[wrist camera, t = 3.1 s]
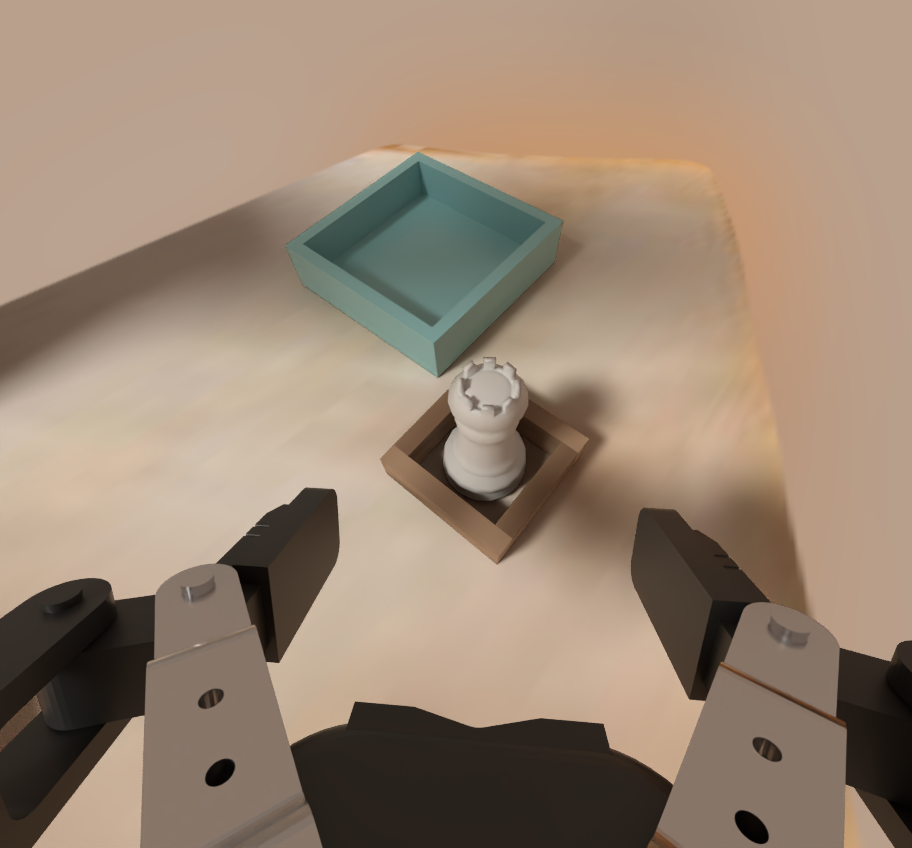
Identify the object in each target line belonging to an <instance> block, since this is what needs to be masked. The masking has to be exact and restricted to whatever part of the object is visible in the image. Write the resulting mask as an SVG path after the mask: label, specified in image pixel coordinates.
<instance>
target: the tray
mask: <svg viewBox="0 0 912 848" xmlns="http://www.w3.org/2000/svg"><path fill="white" fill-rule="evenodd" d="M562 224H563V220H560V219H558V218H556V217H554V216H552V215H550V214H548V213H546V212H544V211H542V210H539V209H537V208H535V207H533V206H531V205H529V204H527V203H525V202H523V201H521V200H518V199H516V198H514V197H512V196H510V195H508V194H506V193H504V192H502V191H499V190H497V189H495V188H493V187H491V186H489V185H487V184H485V183H483V182H481V181H478V180H476V179H474V178H472V177H470V176H468V175H466V174H464V173H462V172H460V171H457V170H455V169H453V168H451V167H449V166H447V165H445V164H443V163H441V162H438V161H436V160H434V159H432V158H430V157H428V156H426V155H424V154H422V153H420V152H417V153H416V154H414V155H413V156H411V157H410V158H408V159H407V160H406V161H404V162H403V163H401V164H400V165H398V166H397V167H396V168H394V169H393V170H391V171H390V172H389V173H387V174H386V175H384V176H383V177H381V178H380V179H379V180H377V181H376V182H374V183H373V184H372V185H370V186H369V187H367V188H366V189H364V190H363V191H362V192H360V193H359V194H357V195H356V196H354V197H353V198H352V199H350V200H349V201H347V202H346V203H345V204H343V205H342V206H340V207H339V208H337V209H336V210H335V211H333V212H332V213H330V214H329V215H328V216H326V217H325V218H323V219H322V220H320V221H319V222H318V223H316V224H315V225H313V226H312V227H310V228H309V229H308V230H306V231H305V232H303V233H302V234H301V235H299V236H298V237H296V238H295V239H293V240H292V241H291V242H289V243H288V244H286V245H285V247H286V249H287V251H288V253H289V256H290V258H291V260H292V262H293V264H294V267H295V269H296V271H297V273H298V275H299V277H300V280H301V282H302V284H303V285H304V286H306V287H307V288H308V289H310V290H311V291H313V292H314V293H316V294H317V295H319V296H320V297H321V298H323V299H324V300H326V301H327V302H329V303H330V304H332V305H333V306H335V307H336V308H337V309H339V310H340V311H342V312H343V313H345V314H346V315H348V316H349V317H350V318H352V319H353V320H355V321H356V322H358V323H359V324H361V325H362V326H364V327H365V328H366V329H368V330H369V331H371V332H372V333H374V334H375V335H377V336H378V337H379V338H381V339H382V340H384V341H385V342H387V343H388V344H390V345H391V346H393V347H394V348H395V349H397V350H398V351H400V352H401V353H403V354H404V355H406V356H407V357H408V358H410V359H411V360H413V361H414V362H416V363H417V364H419V365H420V366H422V367H423V368H424V369H426V370H427V371H429V372H430V373H432V374H433V375H435V376H436V377H437V378H438V377H439V376H440V375H441V374H442V373H443V372H444V371H445V370H446V369H447V368H448V367H449V366H450V365H451V364H452V363H453V362H454V361H455V360H456V359H457V358H458V357H459V356H460V355H461V354H462V353H463V352H464V351H465V350H466V349H467V348H468V347H469V346H470V345H471V344H472V343H473V342H474V341H475V340H476V339H477V338H478V337H479V336H480V335H481V334H482V333H483V332H484V331H485V330H486V329H487V328H488V327H489V326H490V325H491V324H492V323H494V322H495V321H496V320H497V319H498V318H499V317H500V316H501V315H502V314H503V313H504V312H505V311H506V310H507V309H508V308H509V307H510V306H511V305H512V304H513V303H514V302H515V301H516V300H517V299H518V298H519V297H520V296H521V295H522V294H523V293H524V292H525V291H526V290H527V289H528V288H529V287H530V286H531V285H532V284H533V283H534V282H535V281H536V280H537V279H538V278H539V277H540V276H541V275H542V274H543V273H544V272H545V271H546V270H547V269H548V268H549V267H550V266H551V265H552V264H553V263H554V262H555V258H556V253H557V248H558V243H559V238H560V234H561V229H562Z"/></svg>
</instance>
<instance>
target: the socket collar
mask: <svg viewBox="0 0 912 848" xmlns="http://www.w3.org/2000/svg"><path fill="white" fill-rule="evenodd" d="M448 393H449V389H448V390H447V391H446V392H445V393H444V394H443V395H442V396H441V397H440V398H439V399H438V400H437V401H436V402H435V403H434V404H433V405H432V406H431V407H430V408H429V409H428V410H427V412H426V413H425V414H424V415H423V416H422V417H421V418H420V419H419V420H418V421H417V422H416V423H415V424H414V425H413V426H412V427H411V428H410V429H409V430H408V431H407V432H406V433H405V434H404V435H403V436H402V437H401V438H400V439H399V440H398V441H397V442H396V443H395V444H394V445H393V446H392V447H391V448H390V449H389V450H388V451H387V452H386V453H385V454H384V455H383V456H382V457H381V458H380V460H381V462H382V464H383V466H384V468H385V470H386V473H387V474H388V475H389V476H390V477H392V478H393V479H394V480H395V481H397V482H398V483H399V484H400V485H401V486H403V487H404V488H405V489H406V490H407V491H409V492H410V493H411V494H412V495H413V496H415V497H416V498H417V499H418V500H420V501H421V502H422V503H423V504H424V505H426V506H427V507H428V508H429V509H430V510H432V511H433V512H434V513H435V514H436V515H438V516H439V517H440V518H441V519H443V520H444V521H445V522H446V523H447V524H449V525H450V526H451V527H452V528H453V529H455V530H456V531H457V532H458V533H459V534H461V535H462V536H463V537H464V538H466V539H467V540H468V541H469V542H470V543H472V544H473V545H474V546H475V547H476V548H478V549H479V550H480V551H481V552H482V553H484V554H485V555H486V556H487V557H489V558H490V559H491V560H492V561H493V562H495V563H496V564H498V562H499V561H500V560H501V559H502V557H503V556H504V555H505V553H506V552H507V551H508V549H509V548H510V547H511V545H512V544H513V543H514V542H515V540H516V539H517V538H518V536H519V535H520V534H521V532H522V531H523V530H524V528H525V527H526V526H527V525H528V523H529V522H530V521H531V519H532V518H533V517H534V515H535V514H536V513H537V511H538V510H539V509H540V508H541V506H542V505H543V504H544V502H545V501H546V500H547V498H548V497H549V496H550V495H551V493H552V492H553V491H554V489H555V488H556V487H557V485H558V484H559V483H560V481H561V480H562V479H563V478H564V476H565V475H566V474H567V472H568V471H569V470H570V468H571V467H572V466H573V464H574V463H575V462H576V461H577V459H578V458H579V457H580V455H581V453H582V452H583V450H584V448H585V446H586V444H587V442H588V440H589V438H587V437H586V436H584V435H582V434H581V433H579V432H578V431H576V430H575V429H573V428H572V427H570V426H569V425H567V424H566V423H564V422H563V421H561V420H559V419H558V418H556V417H555V416H553V415H552V414H550V413H549V412H547V411H546V410H544V409H543V408H541V407H540V406H538V405H536V404H535V403H533V402H532V401H530V400H529V399H528V407H527V409H526V411H525V413H524V415H523V417H522V418H521V419H520V420H519V423H518V425H517V427H516V431H517V432H519V433H520V434H521V435H523V436H524V437H526V438H527V439H529V440H530V441H532V442H533V443H535V444H536V445H537V446H539V447H540V448H542V449H543V450H545V451H546V452H548V453H549V454H551V455H550V457H549V458H548V459H547V460H546V462H545V463H544V464H543V465H542V467H541V468H540V469H539V470H538V472H537V473H536V474H535V475H534V477H533V478H532V479H531V480H530V482H529V483H528V484H527V485H526V487H525V488H524V489H523V490H522V492H521V493H520V494H519V495H518V497H517V498H516V499H515V500H514V502H513V503H512V504H511V505H510V507H509V508H508V509H507V510H506V512H505V513H504V514H503V516H502V517H501V518H500V519H499V521H498V522H497V523H496V524H493V523H492V522H491V521H489V520H488V519H487V518H486V517H484V516H483V515H482V514H481V513H479V512H478V511H477V510H476V509H474V508H473V507H472V506H471V505H469V504H468V503H467V502H465V501H464V500H463V499H462V498H460V497H459V496H458V495H457V494H455V493H454V492H453V491H452V490H450V489H449V488H448V487H446V486H445V485H444V484H443V483H441V482H440V481H439V480H438V479H436V478H435V477H434V476H433V475H431V474H430V473H429V472H428V471H426V470H425V469H424V468H422V467H421V466H420V465H419V464H420V463H421V462H422V461H423V460H424V459H425V458H426V457H427V455H428V454H429V453H430V452H431V451H432V450H433V449H434V448H435V447H436V446H437V445H438V444H439V443H440V442H441V440H442V439H443V438H444V437H445V436H446V435H447V434H448V433H449V432H450V431H451V430H452V429H453V428H454V427H455V425H456V421H455V417H454V416H453V414H452V412H451V409H450V406H449V404H448Z"/></svg>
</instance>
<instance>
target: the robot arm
mask: <svg viewBox="0 0 912 848" xmlns="http://www.w3.org/2000/svg"><path fill="white" fill-rule="evenodd" d="M339 545H340V539H339V522H338V505H337V495H336V492H335V490H334V489H322V488H304V489H303V490H302V491H301V492H300V494H299V495H298V496H297V497H296V498H295V499H294V500H293V501H292V502H291V503H290V504H289V505H286V504H284V505H282V506H280V507H278V508H276V509H274V510H272V511H270V512H268V513H267V514H266V515H264V516H263V517H262V518H261V519H260V520H259V521H258V522H257V523H256V524H255V527H252V528H251V529H250V530H249V531H248V532H247V533H246V536H243V537H242V538H241V539H240V540H239V541H238V542H237V543H236V544H235V545H234V546H233V547H232V548H231V549H230V550H229V551H228V552H227V553H226V554H225V555H224V556H223V557H222V558H221V559H220V560H219V561H218V562H217V563H216V564H206V565H200V566H196V567H193V568H189V569H187V570H184V571H182V572H180V573H178V574H176V575H174V576H172V577H171V578H169V579H168V580H167V581H165V582H164V583H163V584H162V585H161V586H160V587H159V589H158V590H157V592H156V595H151V596H144V597H137V598H129V599H122V600H114V596H113V592H112V588H111V585H110V583H109V582H107V581H105V580H103V579H97V578H87V579H79V580H74V581H69V582H66V583H62V584H59V585H56V586H54V587H51V588H48V589H46V590H44V591H42V592H40V593H38V594H36V595H34V596H32V597H31V598H29V599H28V600H26V601H25V602H23V603H22V604H20V605H19V606H18V607H16V608H15V609H13V610H12V611H11V612H9V613H8V614H6V615H5V616H4V617H2V618H1V619H0V730H1V728H2V727H3V726H4V725H5V724H6V723H7V722H8V721H9V720H10V719H11V718H12V717H13V716H14V715H15V714H16V713H17V712H18V711H19V710H20V709H21V708H22V707H23V706H25V705H26V704H27V703H28V702H29V701H30V700H31V699H32V698H33V697H34V696H35V695H36V694H37V697H38V700H39V703H40V706H41V709H42V711H41V712H40V713H39V714H38V715H37V716H36V717H35V718H34V719H33V720H32V721H31V722H30V723H29V724H28V725H27V726H26V727H25V728H24V729H23V730H22V731H21V732H20V733H19V734H18V735H17V736H16V737H15V738H14V739H13V740H12V741H11V742H10V743H9V744H8V745H7V746H6V747H5V748H4V749H3V750H2V751H1V752H0V848H32V847H33V845H34V844H35V843H36V842H37V840H38V839H39V838H40V836H41V835H42V834H43V832H44V831H45V830H46V829H47V827H48V826H49V825H50V823H51V822H52V821H53V820H54V818H55V817H56V816H57V814H58V813H59V812H60V810H61V809H62V808H63V807H64V805H65V804H66V803H67V801H68V800H69V799H70V798H71V796H72V795H73V794H74V792H75V791H76V790H77V789H78V787H79V786H80V785H81V783H82V782H83V781H84V779H85V778H86V777H87V776H88V774H89V773H90V772H91V770H92V769H93V768H94V767H95V765H96V764H97V763H98V761H99V760H100V759H101V758H102V756H103V755H104V754H105V752H106V751H107V750H108V748H109V747H110V746H111V745H112V743H113V742H114V741H115V739H116V738H117V737H118V736H119V734H120V733H121V732H122V730H123V729H124V728H125V726H126V725H127V724H128V723H129V721H130V720H131V719H132V718H133V717H138V716H143V715H145V722H144V752H143V783H142V813H141V843H140V848H844V818H845V784H846V785H849V786H852V787H854V788H855V789H856V791H857V793H858V794H859V796H860V797H861V799H862V800H863V801H864V803H865V805H866V806H867V807H868V809H869V810H870V812H871V813H872V815H873V816H874V818H875V819H876V821H877V822H878V824H879V825H880V826H881V828H882V830H883V831H884V833H885V834H886V836H887V837H888V838H889V840H890V841H891V843H892V844H893V846H894V847H895V848H912V641H904V642H901V643H899V644H898V645H897V648H896V650H895V652H894V655H893V658H892V660H891V662H890V661H886V660H882V659H879V658H875V657H871V656H868V655H864V654H860V653H856V652H853V651H849V650H846V649H842V648H839V645H838V642H837V640H836V639H835V637H834V636H833V635H832V634H831V633H830V632H829V631H828V630H827V629H826V628H825V627H824V626H823V625H821V624H820V623H818V622H817V621H815V620H814V619H812V618H810V617H809V616H807V615H805V614H803V613H801V612H799V611H796V610H794V609H791V608H788V607H786V606H782V605H778V604H774V603H771V602H770V601H769V600H768V599H767V598H766V597H765V595H764V594H763V593H762V592H761V591H760V590H759V589H758V588H757V587H756V585H755V584H754V583H753V582H752V581H751V580H750V579H749V578H748V577H747V575H746V574H745V573H744V572H743V571H742V570H739V567H738V566H737V564H736V563H735V562H734V561H733V560H732V559H731V558H729V556H728V554H727V553H726V552H725V551H724V550H723V549H722V548H721V547H720V546H719V544H718V543H717V542H715V541H714V540H712V539H711V538H709V537H707V536H706V535H704V534H703V533H701V532H700V531H698V530H692V529H691V528H690V526H689V525H688V524H687V523H686V522H685V521H684V519H683V518H682V517H681V516H680V515H679V513H678V512H677V511H676V510H672V509H655V508H643V509H642V510H641V511H640V514H639V518H638V523H637V529H636V535H635V541H634V548H633V554H632V560H631V576H632V581H633V584H634V587H635V589H636V591H637V593H638V595H639V597H640V599H641V601H642V604H643V606H644V608H645V610H646V612H647V614H648V616H649V618H650V620H651V622H652V624H653V626H654V628H655V630H656V632H657V634H658V636H659V638H660V640H661V643H662V645H663V647H664V649H665V651H666V653H667V655H668V657H669V659H670V661H671V663H672V665H673V667H674V669H675V671H676V673H677V675H678V677H679V679H680V682H681V684H682V686H683V688H684V690H685V692H686V694H687V696H688V698H689V699H690V700H702V701H705V704H704V706H703V709H702V712H701V714H700V717H699V720H698V722H697V725H696V727H695V730H694V733H693V735H692V738H691V741H690V743H689V746H688V748H687V751H686V754H685V756H684V759H683V762H682V764H681V767H680V769H679V772H678V775H677V777H676V780H675V783H674V785H673V784H672V783H670V782H669V781H668V780H667V779H665V778H664V777H662V776H661V775H660V774H658V773H657V772H655V771H654V770H653V769H651V768H649V767H648V766H646V765H644V764H643V763H641V762H639V761H637V760H636V759H634V758H632V757H630V756H627V755H625V754H623V753H621V752H619V751H616V750H613V749H611V748H610V747H609V743H608V740H607V736H606V732H605V728H604V724H599V723H588V722H576V721H565V720H554V719H543V718H539V719H533V720H527V721H521V722H515V723H509V724H503V725H496V726H490V727H484V728H474V727H470V726H467V725H464V724H462V723H459V722H456V721H453V720H450V719H447V718H444V717H442V716H439V715H436V714H433V713H430V712H427V711H425V710H422V709H419V708H416V707H409V706H398V705H387V704H376V703H365V702H355V703H354V706H353V709H352V713H351V716H350V719H349V722H348V724H343V725H338V726H335V727H331V728H328V729H324V730H322V731H319V732H317V733H314V734H312V735H309V736H307V737H305V738H303V739H301V740H299V741H298V742H296V743H294V744H292V745H291V746H290V745H289V742H288V738H287V735H286V731H285V727H284V724H283V720H282V717H281V713H280V710H279V706H278V703H277V699H276V696H275V692H274V688H273V685H272V681H271V678H270V674H269V671H268V667H267V664H266V662H274V663H279V662H280V660H281V659H282V657H283V655H284V653H285V652H286V650H287V648H288V646H289V645H290V643H291V641H292V639H293V638H294V636H295V634H296V632H297V631H298V629H299V627H300V625H301V624H302V622H303V620H304V618H305V616H306V615H307V613H308V611H309V609H310V608H311V606H312V604H313V602H314V601H315V599H316V597H317V595H318V594H319V592H320V590H321V588H322V587H323V585H324V583H325V581H326V580H327V578H328V576H329V574H330V573H331V571H332V569H333V567H334V566H335V563H336V561H337V557H338V553H339Z"/></svg>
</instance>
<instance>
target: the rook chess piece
mask: <svg viewBox="0 0 912 848" xmlns="http://www.w3.org/2000/svg"><path fill="white" fill-rule="evenodd" d="M448 404H449V406H450V409H451V412H452V414H453V416H454V417H455V421H456V424H457V427H456V428H455V429H453V431H452V432H451V434H450V436H449V438H448V440H447V441H446V443H445V445H444V456H443V468H444V471H445V474H446V477H447V480H448V482H449V483H450V484H451V485H452V486H453V487H454V488H455V489H456V490H457V491H458V492H459V493H460V494H462V495H465V496H467V497H469V498H471V499H473V500H485V501H492V500H495V499H498V498H501V497H504V496H507V495H508V494H509V493H510V492H512V491H513V490H514V489H515V488H516V487H517V486H518V485H519V484H520V482H521V480H522V477H523V475H524V473H525V465H526V448H525V446H524V443H523V441H522V439H521V437H520V435H519V433H518V432H517V431H516V427H517V425H518V423H519V420H520V419H521V418H522V417H523V415H524V413H525V411H526V409H527V407H528V390H527V388H526V386H525V384H524V382H523V380H522V379H521V378H520V377H519V376H518V375H517V374H516V369H515V368H514V367H513V366H512V365H511V364H510V363H508V362H507V363H506V364H505V365H504V367H503V366H500V365H498V364H496V357H484V364H479V365H475V364H474V362H473V361H471V362H469V363H468V364H467V365H465V366H464V367H463V372H461V373H460V374H459V375H457V376H456V377H455V379H454V381H453V382H452V384H451V386H450V387H449V393H448Z"/></svg>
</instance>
